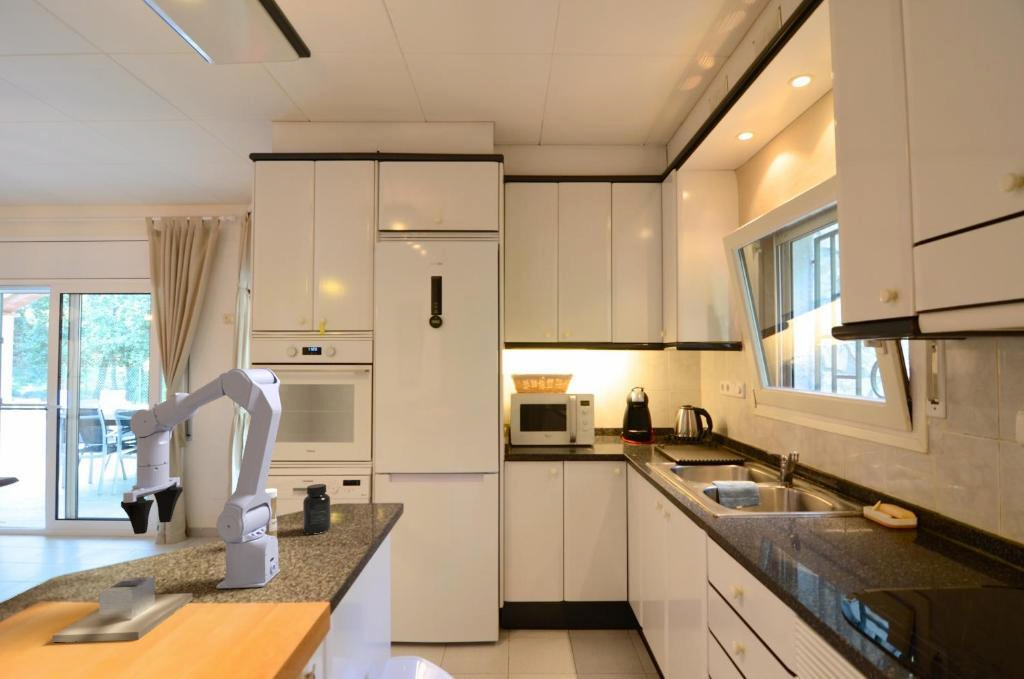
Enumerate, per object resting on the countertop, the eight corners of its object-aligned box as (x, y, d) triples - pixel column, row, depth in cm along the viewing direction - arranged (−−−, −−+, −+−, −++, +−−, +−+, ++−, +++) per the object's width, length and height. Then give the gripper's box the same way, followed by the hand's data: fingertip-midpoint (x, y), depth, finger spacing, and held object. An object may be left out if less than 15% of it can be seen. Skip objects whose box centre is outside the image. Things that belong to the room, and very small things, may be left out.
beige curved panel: (192, 599, 96) (192, 571, 96) (138, 639, 82) (138, 606, 82) (119, 602, 96) (119, 574, 96) (52, 643, 82) (52, 610, 82)
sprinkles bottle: (279, 544, 125) (278, 490, 126) (258, 548, 123) (258, 493, 123) (276, 539, 129) (275, 486, 130) (256, 543, 126) (256, 489, 127)
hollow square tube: (154, 604, 92) (154, 576, 92) (131, 619, 86) (131, 590, 86) (124, 605, 92) (124, 577, 92) (99, 621, 86) (99, 591, 86)
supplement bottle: (305, 528, 137) (305, 484, 138) (332, 525, 139) (331, 481, 140) (301, 536, 131) (300, 490, 131) (329, 533, 132) (328, 487, 133)
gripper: (158, 458, 116) (158, 518, 115) (108, 471, 102) (107, 539, 101) (188, 457, 116) (188, 516, 115) (143, 470, 102) (143, 538, 101)
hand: (153, 527), depth 108 cm, fingers open, 7 cm apart
